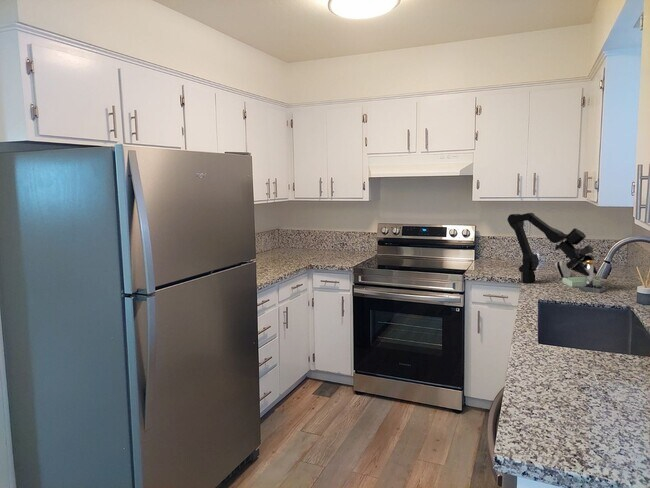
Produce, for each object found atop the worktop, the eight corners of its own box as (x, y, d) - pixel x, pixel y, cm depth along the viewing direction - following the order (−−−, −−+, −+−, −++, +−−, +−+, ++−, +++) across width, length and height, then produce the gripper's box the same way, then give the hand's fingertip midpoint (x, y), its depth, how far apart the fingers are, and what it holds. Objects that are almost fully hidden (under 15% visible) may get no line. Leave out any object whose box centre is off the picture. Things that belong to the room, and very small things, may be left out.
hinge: (569, 278, 261) (562, 262, 262) (560, 281, 264) (554, 264, 265) (570, 274, 276) (564, 258, 276) (562, 276, 278) (556, 260, 279)
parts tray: (572, 287, 238) (572, 281, 237) (562, 283, 250) (562, 277, 249) (600, 286, 236) (600, 281, 236) (589, 282, 248) (589, 277, 248)
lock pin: (587, 291, 228) (587, 261, 226) (583, 289, 231) (583, 260, 230) (595, 291, 227) (596, 261, 226) (591, 289, 231) (592, 259, 230)
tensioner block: (579, 290, 230) (579, 284, 230) (585, 288, 234) (585, 282, 234) (599, 292, 222) (599, 286, 222) (605, 290, 227) (605, 284, 226)
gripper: (573, 242, 225) (596, 266, 217) (590, 238, 236) (613, 262, 228) (556, 256, 232) (579, 280, 224) (574, 253, 243) (596, 276, 235)
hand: (592, 274), depth 227 cm, fingers open, 9 cm apart
